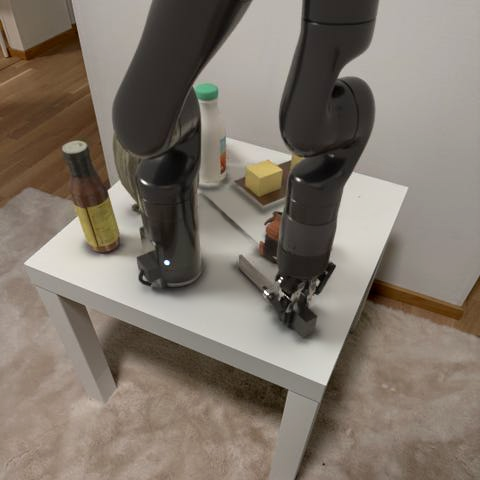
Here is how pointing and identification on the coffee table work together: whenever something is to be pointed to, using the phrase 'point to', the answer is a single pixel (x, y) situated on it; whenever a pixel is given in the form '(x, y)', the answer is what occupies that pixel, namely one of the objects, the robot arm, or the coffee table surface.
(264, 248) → the pottery mug
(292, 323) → the knife
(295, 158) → the butter slice
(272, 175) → the butter stick
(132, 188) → the tabletop clock
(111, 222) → the sauce bottle
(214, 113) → the milk bottle
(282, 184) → the butter board
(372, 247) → the coffee table surface
